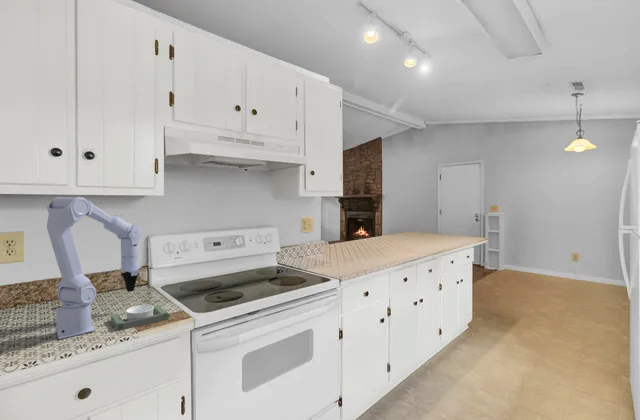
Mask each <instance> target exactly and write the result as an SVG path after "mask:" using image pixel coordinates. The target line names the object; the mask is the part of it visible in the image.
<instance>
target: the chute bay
mask: <svg viewBox="0 0 640 420" xmlns="http://www.w3.org/2000/svg"><path fill="white" fill-rule="evenodd" d="M153 306H154V309H153V316H149V317H144V318H140V319H135V320H131V321H128V320H127V321H124V320H123V319H122V318H121V316H120V315H119V314H118V313H115V314H110V321H111V322H112V324H113V325H114V327H115V328H116V329H117V331H123V330H127V329H128V330H129V329H131V328H135V327H140V326H146V325H149V324H152V323H153V324H154V323H157V322H162V321H167V320H169V319H170V316H169V315H170V313H169V311H166V310H165V309H164V308H163V307H161V306H160V305H159V304H158V305H153Z"/></svg>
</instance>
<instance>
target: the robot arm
mask: <svg viewBox="0 0 640 420" xmlns="http://www.w3.org/2000/svg"><path fill="white" fill-rule="evenodd" d="M46 209H47V212H48V216H47V222H46V230H47V233H48V236H49V239H50V240H49V241H50V242H51V246H52V250H53V252H54V255H55V259H56V263H57V266H58V269H59V273H60V276H61V280H60V281H58V283H57V289H58V290H57V298H58V300H59V301H60V302H62V306H61V307H58V308H56V309H55V324H56V325H55V332H56V335H57V338H58V339H59V340H61V339H66V338H69V337H75V336H79V335H83V334H88V333H92V332H93V333H94V332H95V328H94V326H93V324H92V304H93V301H94V300H95V299H96V295H97V289H96V287H95V286H94V285H93V283H92V281H91V280H90V279H89V278H88V276H86V275H85V274H84V273H83V270H82V266H81V263H80V262H81V261H80V259H79V255H78V252H77V247H76V244H75V241H74V238H73V233H72V230H71V229H72V228H73V226H74V225H75V224H77V223H78V222H79V221H80V220H81V219H83V218H84V217H88V218H90V219H92V220H95V221H97V222H99V223H101V224H103V228H104V229H105V230H107V231H109V232H111V233H113V234H114V235H116V237H117V238H118V240H120V271H121V273H120V276H121V277H122V279H123V281H124V285H125V289H126V292H128V293H130V292H133V291H135V288H136V283H137V279H138V278H139V275H140V272H139V271H138V270H139V269H142V265H139V246H138V245H139V243H140V238H141V236H142V231H141V229H140V228H139V226H138V225H135V224H131V223H130V221H127V220H124V219H123V218H121V216H120V215H118V214H111V215H110V214H108V213H106V212H105V211H103V210H102V209H100V208H99V207H97V206H96V205H94V203H92V201H90V200H88V199H86V198H85V197H82V196H77V197H72V196H71V197H62V196H57V197H55V198H53V199H52V200H51V201H50V202H49V203H48V205H47V206H46Z"/></svg>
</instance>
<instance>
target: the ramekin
mask: <svg viewBox="0 0 640 420" xmlns="http://www.w3.org/2000/svg"><path fill="white" fill-rule="evenodd" d="M154 306H155V305H152V304H139V305H135V306H131V307H129V308H127V309H126V310H125V313H126V319H127V321H131V320H135V319H140V318H144V317H149V316H153V315H154V312H153V309H154Z"/></svg>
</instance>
